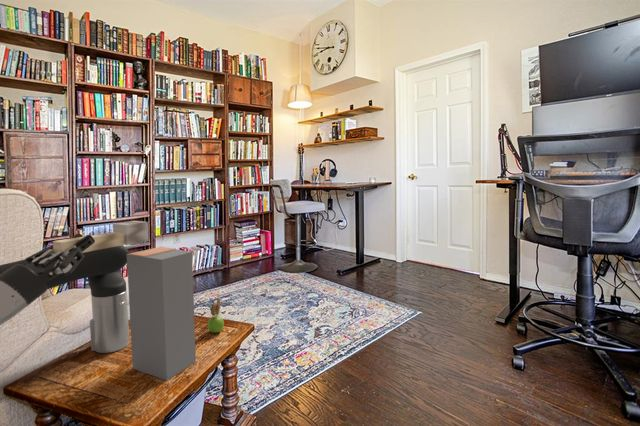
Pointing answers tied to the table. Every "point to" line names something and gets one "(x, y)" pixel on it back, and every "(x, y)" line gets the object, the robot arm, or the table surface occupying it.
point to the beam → (111, 237)
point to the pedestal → (161, 311)
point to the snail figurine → (215, 318)
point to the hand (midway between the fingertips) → (86, 237)
